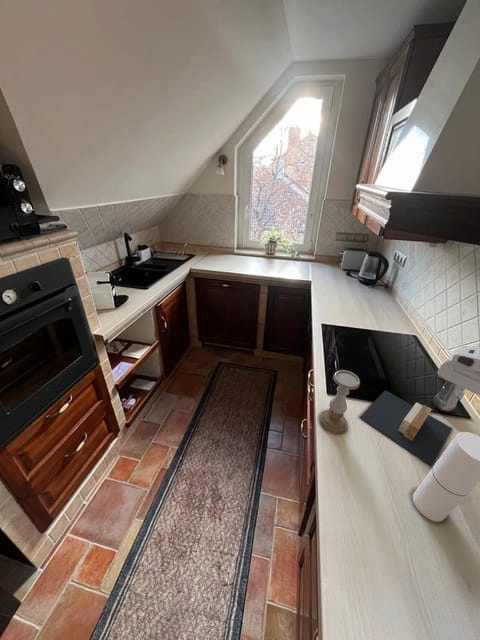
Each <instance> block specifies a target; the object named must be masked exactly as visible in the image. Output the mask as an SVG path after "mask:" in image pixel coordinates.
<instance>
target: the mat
mask: <svg viewBox="0 0 480 640" xmlns="http://www.w3.org/2000/svg"><path fill="white" fill-rule="evenodd" d="M413 406H414V405H412V404H411V403H408V402H407V401H405V400H404V399H402V398H400V397H398V396H396V395H395V394H393V393H391V392H389V391H388V390H387V389H385V390H384V391H383V392H382V393H381V394H380V395H379V396H378V397H377V398H376V399H375V400H374V402H372V404H370V405H369V407H367V409H366V410H365V411H364V412H363V413H362V414H361V415H360V417H359V418H360V419H361V420H362V421H364V422H366V423H367V424H369V425H370V426H371V427H373V428H374V429H376V430H377V431H379V432H380V433H382V434H383V435H385V436H386V437H387V438H388V439H390V440H392V441H393V442H395V443H396V444H397V445H399V446H400V447H402V448H404V449H405V450H406V451H408V452H409V453H411V454H413V455H414V456H415V457H417V458H418V459H420V460H421V461H422V462H424V463H425V464H427V465H428V466H429V467H433V465H434V462H435V460H436V459H437V456H438V455H439V453H440V451H441V449H442V447H443V445H444V443H445V442H446V440H447V437H448V436H449V433H450V431H451V430H452V427H450V426H449V425H447V424H445V423H443V421H441V420H439V419H437V418H435V417H433V416H432V415H430V414H429V415H428V417H427V419H426V420H425V422H424V423H423V425H422V426H421V428H420V429H419V431H418V433H417V434H416V436H415V437H414V439H413V440H412V441H411V440H409V439H408V438H406V437H405V436H404V434H403V433H401V432H400V431H398V429H399V427H400V426H401V424H402V422H403V420H404V418H405V417H406V416H407V414H408V413H409V412H410V410H411V409H412V408H413Z"/></svg>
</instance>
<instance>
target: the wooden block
mask: <svg viewBox="0 0 480 640" xmlns="http://www.w3.org/2000/svg"><path fill="white" fill-rule="evenodd" d="M412 406H413V408H412V409H411V410H410V412H409V413H408V414H407V416H406V417H405V418H404V420H403V422H402V424H401V426H400V427H399V429H398V431H400V432H401V433H403V434H404V436H405V437H406V438H408V439H409V440H411V441H412V440H413V439H414V437H415V436H416V434H417V433H418V431H419V429H420V428H421V426H422V425H423V423H424V422H425V420H426V419H427V417H428V415H430V414H431V412H432V410H433V409H432V408H430V407H428V406H427V405H425V404H423V405H422V404H421V403H419V402H415V403H414V405H412Z"/></svg>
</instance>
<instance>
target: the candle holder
mask: <svg viewBox="0 0 480 640" xmlns="http://www.w3.org/2000/svg"><path fill="white" fill-rule="evenodd" d="M332 378H333V382H334V383H335V384H336V385H338V386H337V387H336V395H335V396H334V397H333V398H332V399H330V401H329V404H328V405H329V407H328V409H325V410H323V411H321V413H320V415H319V421H320V424H321V425H322V427H323V428H324V429H325V430H327V431H328V432H331V433H332V434H333V433H334V434H340V433H344V432H345V431H346V430H347V427H348V421H347V419H346V418H345V413H346V412H347V410H348V404H347V401H346V400H347V396H348V395H350V390H357V389H358V388H359V387H360V385H361V380H360V378H359V377H358V375H356V374H355V373H354V372H352V371H350V370H345V369H339V370H337V371H336V372H334V374H333V377H332Z"/></svg>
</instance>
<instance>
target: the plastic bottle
mask: <svg viewBox="0 0 480 640" xmlns="http://www.w3.org/2000/svg"><path fill="white" fill-rule="evenodd" d="M455 386H456V384H454V383H452V382H449V381H447V380H445V382H444V384H443V386H442V387H441V389H440V390H439V391H438V393H436V394H435V396H434V397H433V400H432V403H433V406H434V407H435V408H436V409H437V410H439V411H441V412H443V413H450V412H452V411H454V410H455V409H456V407H457V404H458V401H459V399H457V398H455V395H456V394H457V393H456V390H455ZM464 391H466V389H464V388H462V389H461V392H463V393H464Z"/></svg>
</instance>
